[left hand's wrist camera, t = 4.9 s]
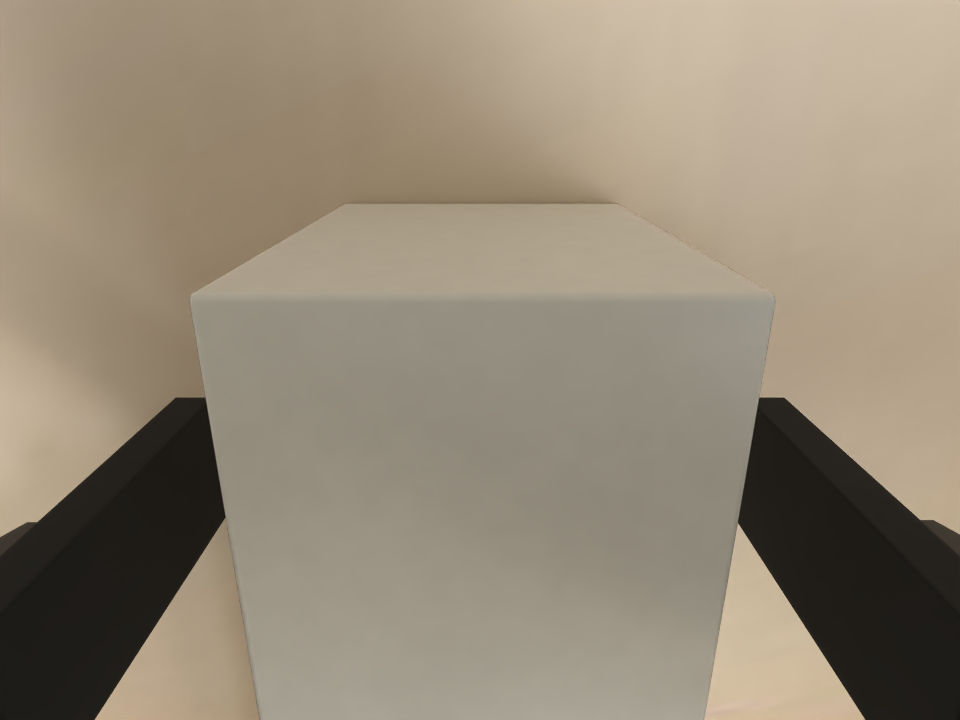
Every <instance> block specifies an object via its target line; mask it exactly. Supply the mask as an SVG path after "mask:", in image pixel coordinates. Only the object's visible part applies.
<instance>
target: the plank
mask: <svg viewBox="0 0 960 720" xmlns="http://www.w3.org/2000/svg"><path fill="white" fill-rule="evenodd" d="M190 307H191V313H192V319H193V325H194V331H195V337H196V343H197V349H198V355H199V361H200V367H201V373H202V378H203V384H204V390H205V396H206V402H207V408H208V414H209V420H210V426H211V432H212V438H213V444H214V450H215V456H216V462H217V468H218V474H219V480H220V486H221V492H222V498H223V504H224V510H225V516H226V522H227V528H228V534H229V540H230V546H231V552H232V558H233V564H234V569H235V575H236V581H237V587H238V593H239V599H240V605H241V611H242V617H243V623H244V629H245V635H246V641H247V647H248V653H249V659H250V665H251V671H252V677H253V683H254V689H255V695H256V701H257V707H258V713H259V719H260V720H704V718H705V712H706V706H707V700H708V694H709V688H710V682H711V676H712V671H713V665H714V659H715V653H716V647H717V641H718V635H719V630H720V624H721V618H722V612H723V606H724V600H725V594H726V588H727V583H728V577H729V571H730V565H731V559H732V553H733V547H734V541H735V536H736V530H737V524H738V518H739V512H740V506H741V500H742V494H743V489H744V483H745V477H746V471H747V465H748V459H749V453H750V448H751V442H752V436H753V430H754V424H755V418H756V412H757V406H758V401H759V395H760V389H761V383H762V377H763V371H764V365H765V359H766V354H767V348H768V342H769V336H770V330H771V324H772V318H773V312H774V307H775V297H774V294H772V293H771V292H769V291H767V290H766V289H764V288H762V287H760V286H759V285H757V284H755V283H753V282H752V281H750V280H748V279H747V278H745V277H743V276H741V275H740V274H738V273H736V272H735V271H733V270H731V269H729V268H728V267H726V266H724V265H723V264H721V263H719V262H717V261H716V260H714V259H712V258H711V257H709V256H707V255H705V254H704V253H702V252H700V251H698V250H697V249H695V248H693V247H692V246H690V245H688V244H686V243H685V242H683V241H681V240H680V239H678V238H676V237H674V236H673V235H671V234H669V233H668V232H666V231H664V230H662V229H661V228H659V227H657V226H656V225H654V224H652V223H650V222H649V221H647V220H645V219H643V218H642V217H640V216H638V215H637V214H635V213H633V212H631V211H630V210H628V209H626V208H625V207H623V206H621V205H619V204H344V205H342V206H340V207H339V208H337V209H335V210H333V211H332V212H330V213H328V214H327V215H325V216H323V217H322V218H320V219H318V220H316V221H315V222H313V223H311V224H310V225H308V226H306V227H305V228H303V229H301V230H299V231H298V232H296V233H294V234H293V235H291V236H289V237H288V238H286V239H284V240H282V241H281V242H279V243H277V244H276V245H274V246H272V247H271V248H269V249H267V250H265V251H264V252H262V253H260V254H259V255H257V256H255V257H253V258H252V259H250V260H248V261H247V262H245V263H243V264H242V265H240V266H238V267H236V268H235V269H233V270H231V271H230V272H228V273H226V274H225V275H223V276H221V277H219V278H218V279H216V280H214V281H213V282H211V283H209V284H208V285H206V286H204V287H202V288H201V289H199V290H197V291H196V292H194V293H192V294H191V297H190Z"/></svg>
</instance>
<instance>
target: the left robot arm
mask: <svg viewBox="0 0 960 720" xmlns="http://www.w3.org/2000/svg"><path fill="white" fill-rule="evenodd" d="M225 517H226V516H225V510H224V504H223V498H222V492H221V486H220V480H219V474H218V468H217V462H216V456H215V450H214V444H213V438H212V432H211V426H210V420H209V414H208V408H207V402H206V398H175V399H174V400H173V401H172V402H171V403H169V404H168V405H167V406H166V407H165V408H164V409H163V410H162V411H161V412H159V413H158V414H157V415H156V416H155V417H154V418H153V419H152V420H151V421H149V422H148V423H147V424H146V425H145V426H144V427H143V428H142V429H141V430H139V431H138V432H137V433H136V434H135V435H134V436H133V437H132V438H131V439H129V440H128V441H127V442H126V443H125V444H124V445H123V446H122V447H121V448H119V449H118V450H117V451H116V452H115V453H114V454H113V455H112V456H111V457H109V458H108V459H107V460H106V461H105V462H104V463H103V464H102V465H101V466H99V467H98V468H97V469H96V470H95V471H94V472H93V473H92V474H91V475H89V476H88V477H87V478H86V479H85V480H84V481H83V482H82V483H81V484H79V485H78V486H77V487H76V488H75V489H74V490H73V491H72V492H71V493H69V494H68V495H67V496H66V497H65V498H64V499H63V500H62V501H61V502H59V503H58V504H57V505H56V506H55V507H54V508H53V509H52V510H51V511H49V512H48V513H47V514H46V515H45V516H44V517H43V518H42V519H41V520H39V521H38V522H27V523H25V524H23V525H22V526H20V527H18V528H16V529H14V530H13V531H11V532H9V533H7V534H5V535H3V536H2V537H0V720H95V718H96V717H97V715H98V714H99V712H100V711H101V709H102V707H103V706H104V704H105V703H106V701H107V700H108V698H109V697H110V695H111V694H112V692H113V690H114V689H115V687H116V686H117V684H118V683H119V681H120V680H121V678H122V677H123V675H124V673H125V672H126V670H127V669H128V667H129V666H130V664H131V663H132V661H133V660H134V658H135V656H136V655H137V653H138V652H139V650H140V649H141V647H142V646H143V644H144V643H145V641H146V639H147V638H148V636H149V635H150V633H151V632H152V630H153V629H154V627H155V626H156V624H157V622H158V621H159V619H160V618H161V616H162V615H163V613H164V612H165V610H166V609H167V607H168V605H169V604H170V602H171V601H172V599H173V598H174V596H175V595H176V593H177V591H178V590H179V588H180V587H181V585H182V584H183V582H184V581H185V579H186V578H187V576H188V574H189V573H190V571H191V570H192V568H193V567H194V565H195V564H196V562H197V561H198V559H199V557H200V556H201V554H202V553H203V551H204V550H205V548H206V547H207V545H208V544H209V542H210V540H211V539H212V537H213V536H214V534H215V533H216V531H217V530H218V528H219V527H220V525H221V523H222V522H223V520H224V519H225ZM738 523H739V525H740V527H741V528H742V530H743V531H744V533H745V534H746V536H747V537H748V539H749V540H750V542H751V544H752V545H753V547H754V548H755V550H756V551H757V553H758V554H759V556H760V557H761V559H762V561H763V562H764V564H765V565H766V567H767V568H768V570H769V571H770V573H771V574H772V576H773V578H774V579H775V581H776V582H777V584H778V585H779V587H780V588H781V590H782V591H783V593H784V595H785V596H786V598H787V599H788V601H789V602H790V604H791V605H792V607H793V608H794V610H795V612H796V613H797V615H798V616H799V618H800V619H801V621H802V622H803V624H804V625H805V627H806V629H807V630H808V632H809V633H810V635H811V636H812V638H813V639H814V641H815V642H816V644H817V646H818V647H819V649H820V650H821V652H822V653H823V655H824V656H825V658H826V659H827V661H828V663H829V664H830V666H831V667H832V669H833V670H834V672H835V673H836V675H837V676H838V678H839V680H840V681H841V683H842V684H843V686H844V687H845V689H846V690H847V692H848V694H849V695H850V697H851V698H852V700H853V701H854V703H855V704H856V706H857V707H858V709H859V711H860V712H861V714H862V715H863V717H864V718H865V720H960V535H959V534H958V533H956V532H954V531H952V530H950V529H948V528H947V527H945V526H943V525H941V524H939V523H937V522H936V521H934V520H919V519H918V518H917V517H916V516H915V515H914V514H913V513H912V512H911V511H909V510H908V509H907V508H906V507H905V506H904V505H903V504H902V503H901V502H899V501H898V500H897V499H896V498H895V497H894V496H893V495H892V494H891V493H889V492H888V491H887V490H886V489H885V488H884V487H883V486H882V485H881V484H879V483H878V482H877V481H876V480H875V479H874V478H873V477H872V476H871V475H869V474H868V473H867V472H866V471H865V470H864V469H863V468H862V467H861V466H859V465H858V464H857V463H856V462H855V461H854V460H853V459H852V458H851V457H849V456H848V455H847V454H846V453H845V452H844V451H843V450H842V449H841V448H839V447H838V446H837V445H836V444H835V443H834V442H833V441H832V440H831V439H829V438H828V437H827V436H826V435H825V434H824V433H823V432H822V431H821V430H819V429H818V428H817V427H816V426H815V425H814V424H813V423H812V422H811V421H809V420H808V419H807V418H806V417H805V416H804V415H803V414H802V413H801V412H799V411H798V410H797V409H796V408H795V407H794V406H793V405H792V404H791V403H789V402H788V401H787V400H786V399H785V398H759V401H758V406H757V412H756V418H755V424H754V430H753V436H752V442H751V448H750V453H749V459H748V465H747V471H746V477H745V483H744V489H743V494H742V500H741V506H740V512H739V518H738Z"/></svg>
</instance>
